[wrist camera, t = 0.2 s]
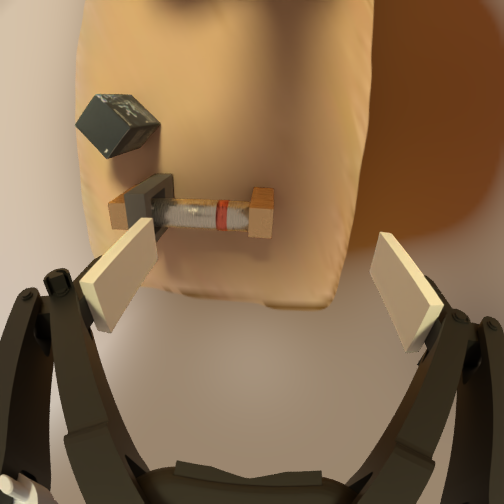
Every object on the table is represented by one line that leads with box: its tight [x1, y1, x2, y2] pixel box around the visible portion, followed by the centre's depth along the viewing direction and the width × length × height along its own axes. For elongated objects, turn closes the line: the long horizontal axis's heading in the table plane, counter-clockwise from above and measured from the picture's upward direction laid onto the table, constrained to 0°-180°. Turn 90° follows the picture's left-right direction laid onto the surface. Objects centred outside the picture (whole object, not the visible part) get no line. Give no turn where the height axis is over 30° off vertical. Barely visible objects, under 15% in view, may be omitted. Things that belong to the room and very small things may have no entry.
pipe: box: [108, 184, 274, 239], centre depth 39 cm, size 23×4×10 cm, turn 88°
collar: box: [124, 174, 174, 242], centre depth 38 cm, size 3×8×11 cm, turn 178°
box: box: [75, 94, 160, 159], centre depth 33 cm, size 8×6×11 cm
